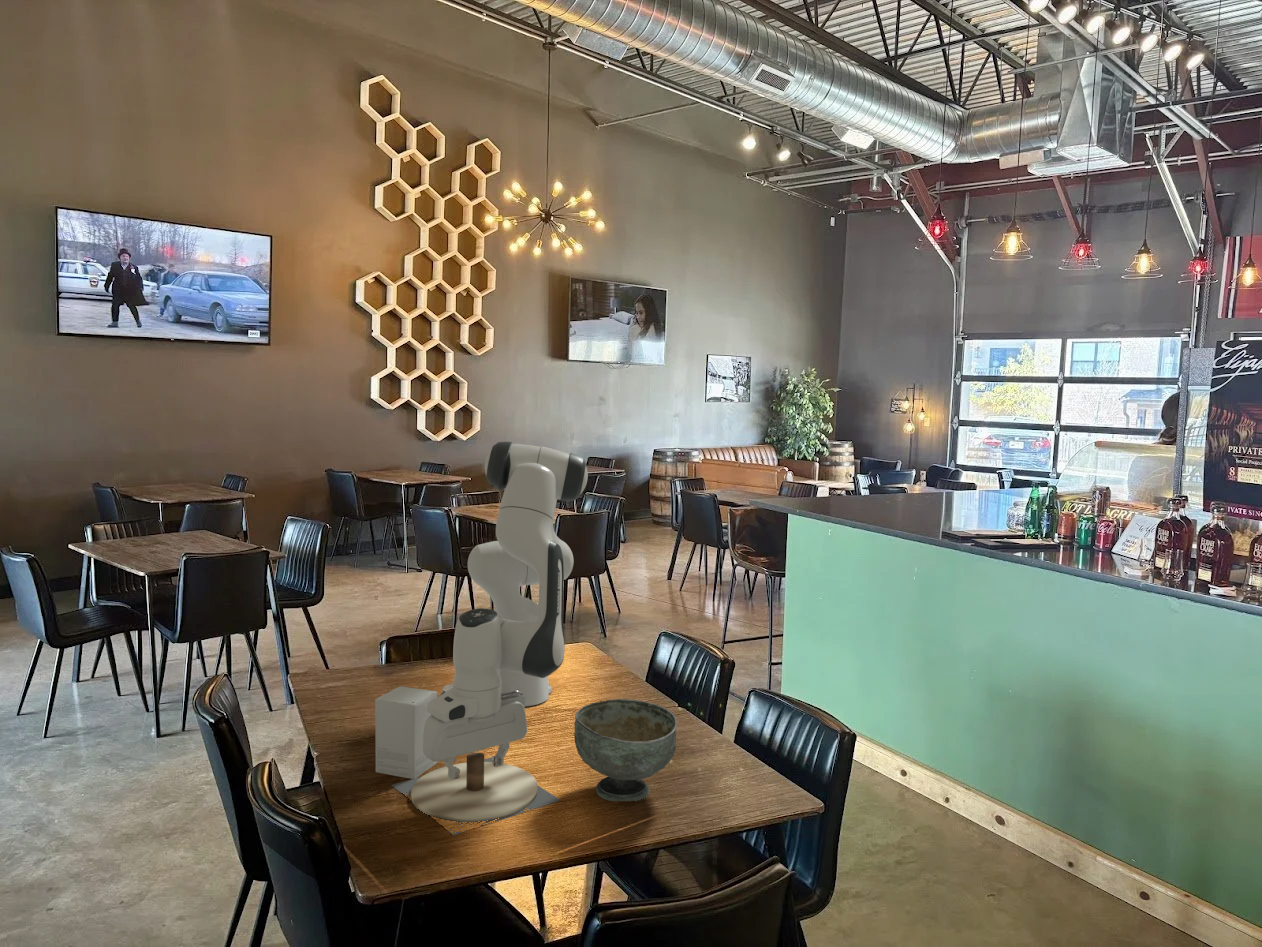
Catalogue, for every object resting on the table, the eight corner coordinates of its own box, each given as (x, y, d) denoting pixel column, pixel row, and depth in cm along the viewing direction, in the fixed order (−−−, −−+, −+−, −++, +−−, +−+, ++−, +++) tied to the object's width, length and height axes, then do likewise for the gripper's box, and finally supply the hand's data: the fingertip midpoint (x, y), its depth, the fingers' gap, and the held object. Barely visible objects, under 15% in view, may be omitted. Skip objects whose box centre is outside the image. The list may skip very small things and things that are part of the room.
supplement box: (439, 763, 178) (439, 690, 177) (414, 781, 170) (414, 705, 168) (400, 756, 181) (400, 684, 180) (373, 773, 173) (373, 698, 171)
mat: (391, 786, 167) (391, 784, 167) (493, 758, 181) (493, 757, 181) (453, 837, 149) (453, 835, 148) (561, 802, 163) (561, 800, 162)
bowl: (642, 828, 154) (644, 744, 152) (552, 798, 164) (554, 719, 163) (695, 787, 170) (698, 711, 169) (611, 763, 181) (613, 691, 179)
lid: (390, 786, 166) (390, 750, 166) (496, 757, 181) (497, 723, 180) (448, 835, 149) (449, 794, 148) (561, 798, 163) (562, 761, 163)
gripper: (516, 684, 172) (515, 753, 173) (418, 705, 159) (418, 779, 160) (534, 692, 167) (532, 763, 168) (435, 715, 154) (434, 792, 155)
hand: (476, 772), depth 164 cm, fingers open, 8 cm apart
